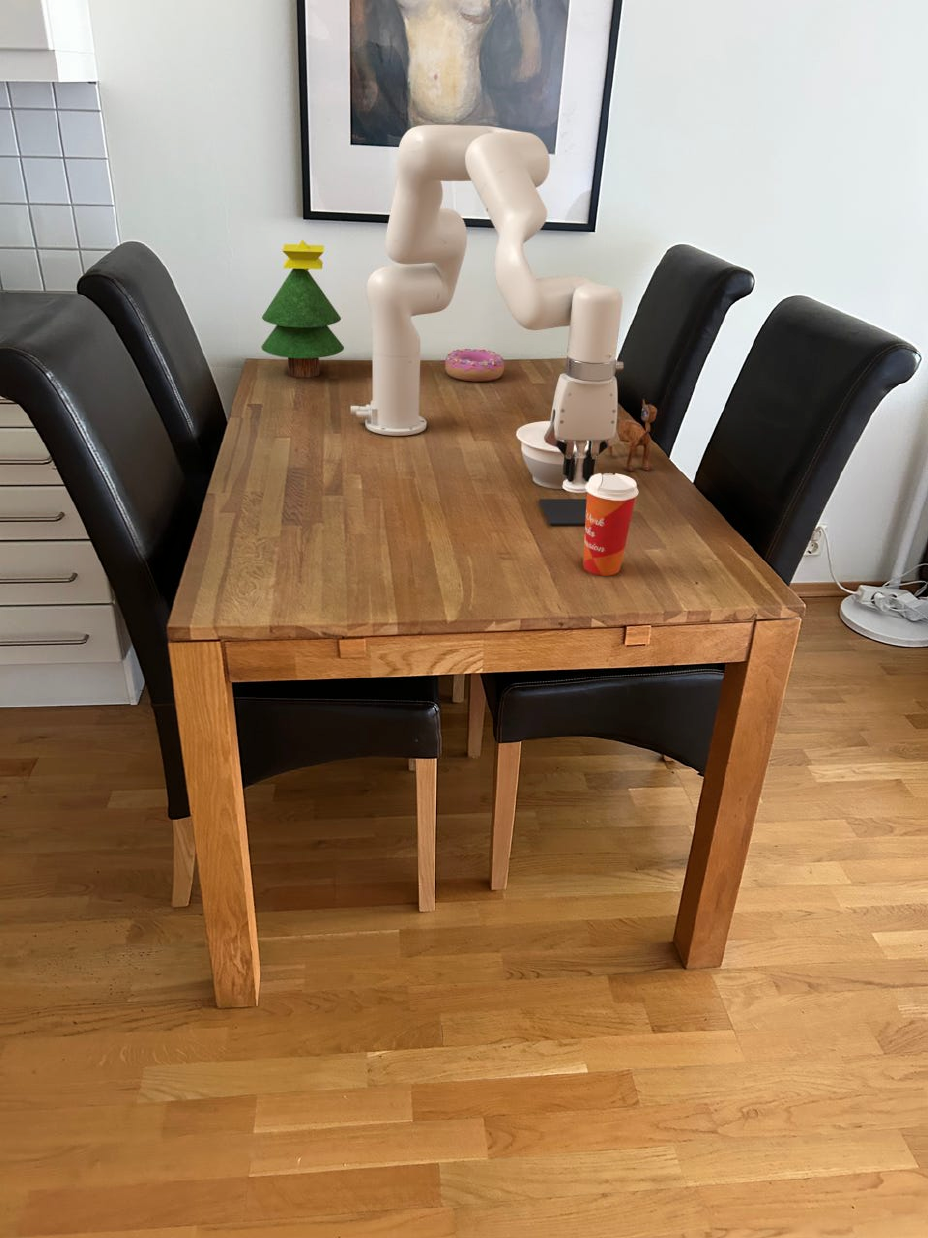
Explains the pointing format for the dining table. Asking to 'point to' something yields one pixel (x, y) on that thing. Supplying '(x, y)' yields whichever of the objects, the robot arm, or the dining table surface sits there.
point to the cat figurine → (637, 435)
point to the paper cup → (607, 521)
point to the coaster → (565, 511)
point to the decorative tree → (302, 315)
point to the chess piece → (577, 471)
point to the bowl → (542, 455)
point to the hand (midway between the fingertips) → (577, 477)
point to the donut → (474, 365)
